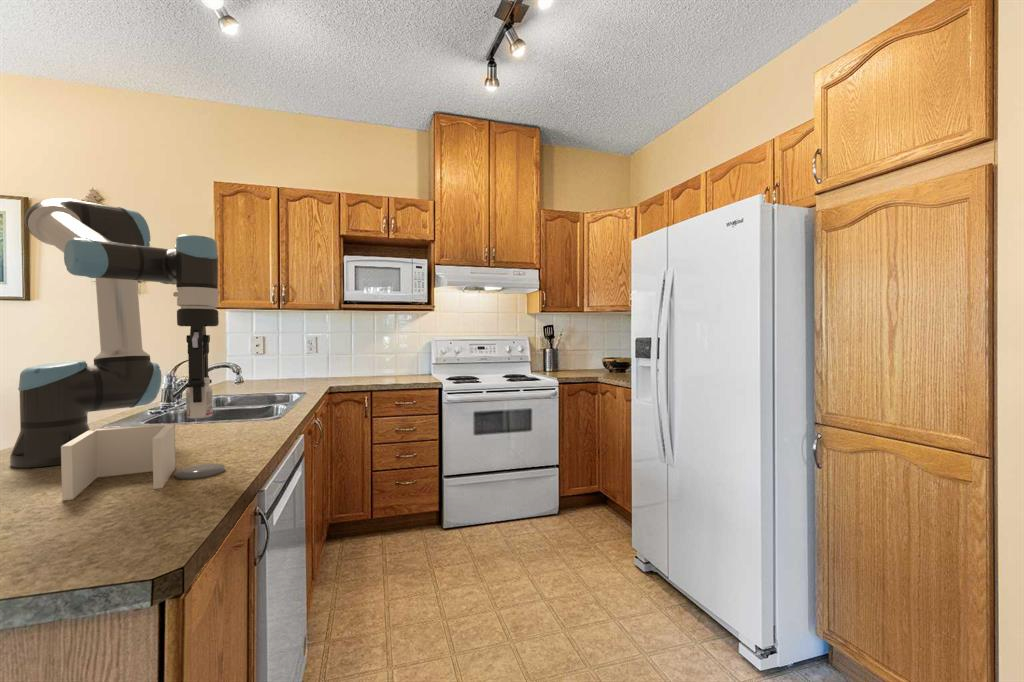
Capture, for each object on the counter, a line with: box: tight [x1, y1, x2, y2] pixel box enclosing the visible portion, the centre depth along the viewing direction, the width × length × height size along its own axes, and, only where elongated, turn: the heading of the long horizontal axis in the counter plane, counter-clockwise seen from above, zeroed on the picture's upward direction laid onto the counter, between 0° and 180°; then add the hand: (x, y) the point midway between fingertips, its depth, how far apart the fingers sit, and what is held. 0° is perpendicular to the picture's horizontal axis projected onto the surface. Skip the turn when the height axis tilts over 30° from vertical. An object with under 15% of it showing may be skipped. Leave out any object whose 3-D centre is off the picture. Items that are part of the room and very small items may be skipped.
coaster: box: [174, 463, 225, 481], centre depth 103 cm, size 9×9×1 cm
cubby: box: [60, 423, 177, 502], centre depth 97 cm, size 16×15×10 cm
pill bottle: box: [185, 377, 214, 420], centre depth 103 cm, size 5×5×8 cm
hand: (199, 415), depth 103 cm, fingers closed on pill bottle, 5 cm apart
